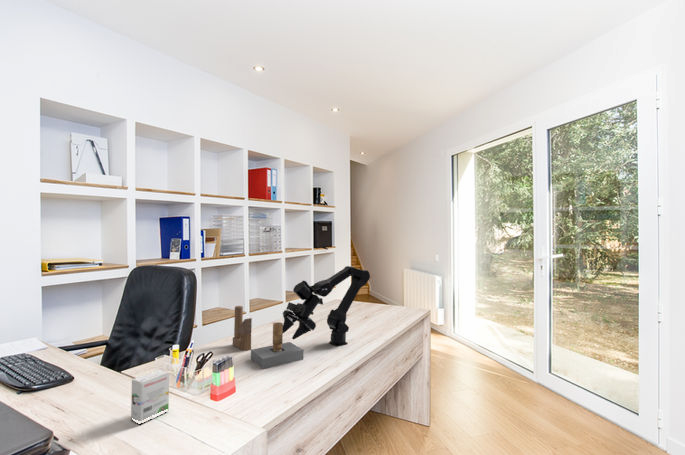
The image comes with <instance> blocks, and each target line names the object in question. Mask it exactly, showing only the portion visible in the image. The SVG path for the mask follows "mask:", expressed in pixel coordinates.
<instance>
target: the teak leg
mask: <svg viewBox="0 0 685 455" xmlns="http://www.w3.org/2000/svg"><path fill="white" fill-rule="evenodd" d="M283 324H284V322H273V323H272V345H273V351H274V353H276V352H280V351H282V343H283V334H284V333H283Z"/></svg>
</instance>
